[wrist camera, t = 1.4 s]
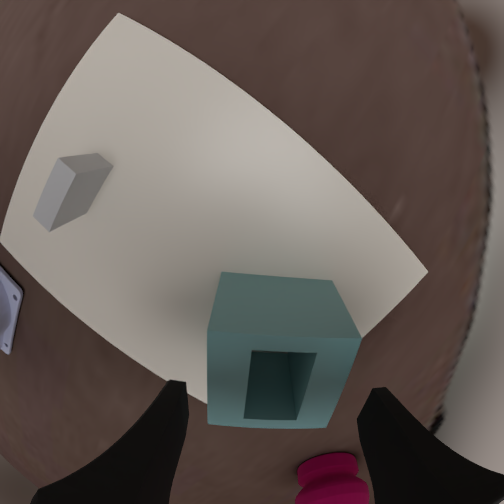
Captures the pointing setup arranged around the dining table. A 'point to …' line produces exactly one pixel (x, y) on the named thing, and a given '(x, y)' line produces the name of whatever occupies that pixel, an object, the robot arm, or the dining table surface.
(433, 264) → the dining table surface
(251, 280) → the teal square tube
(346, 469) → the pepper mill
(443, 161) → the dining table surface
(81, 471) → the robot arm
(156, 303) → the key plate
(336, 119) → the dining table surface
